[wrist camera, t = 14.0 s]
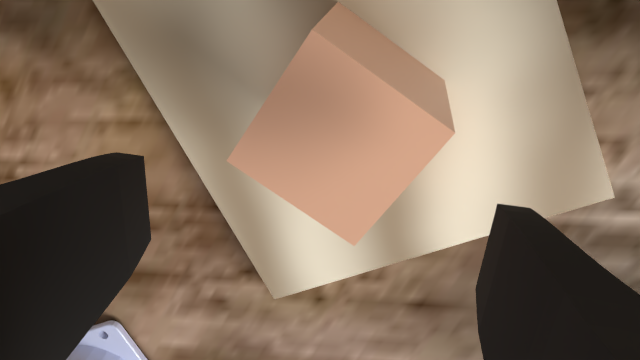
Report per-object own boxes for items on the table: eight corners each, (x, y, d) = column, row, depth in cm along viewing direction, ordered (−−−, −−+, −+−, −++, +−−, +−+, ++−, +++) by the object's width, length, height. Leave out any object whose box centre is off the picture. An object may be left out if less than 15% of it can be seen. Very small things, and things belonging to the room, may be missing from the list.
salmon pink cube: (444, 80, 18) (455, 133, 13) (367, 173, 20) (354, 246, 15) (338, 1, 17) (312, 29, 13) (269, 105, 19) (226, 160, 15)
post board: (280, 282, 24) (256, 348, 20) (106, -9, 19) (34, 7, 16) (603, 182, 20) (648, 243, 16) (480, -230, 15) (502, -281, 11)
